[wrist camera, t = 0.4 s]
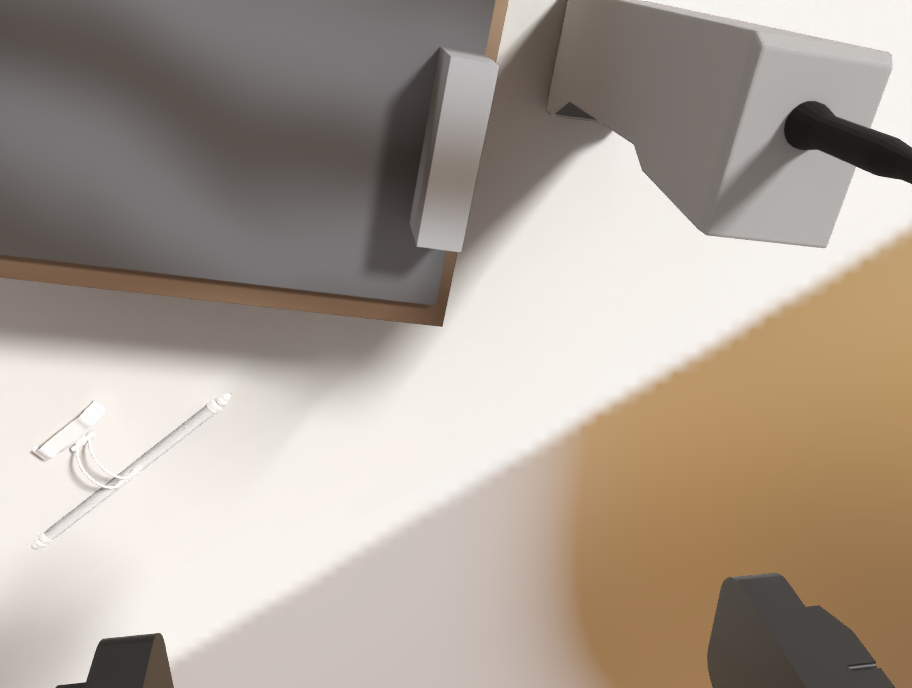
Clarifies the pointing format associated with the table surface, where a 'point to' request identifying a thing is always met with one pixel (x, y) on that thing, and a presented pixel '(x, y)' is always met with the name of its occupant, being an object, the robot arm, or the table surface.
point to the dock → (246, 148)
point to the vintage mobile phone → (730, 113)
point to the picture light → (77, 436)
